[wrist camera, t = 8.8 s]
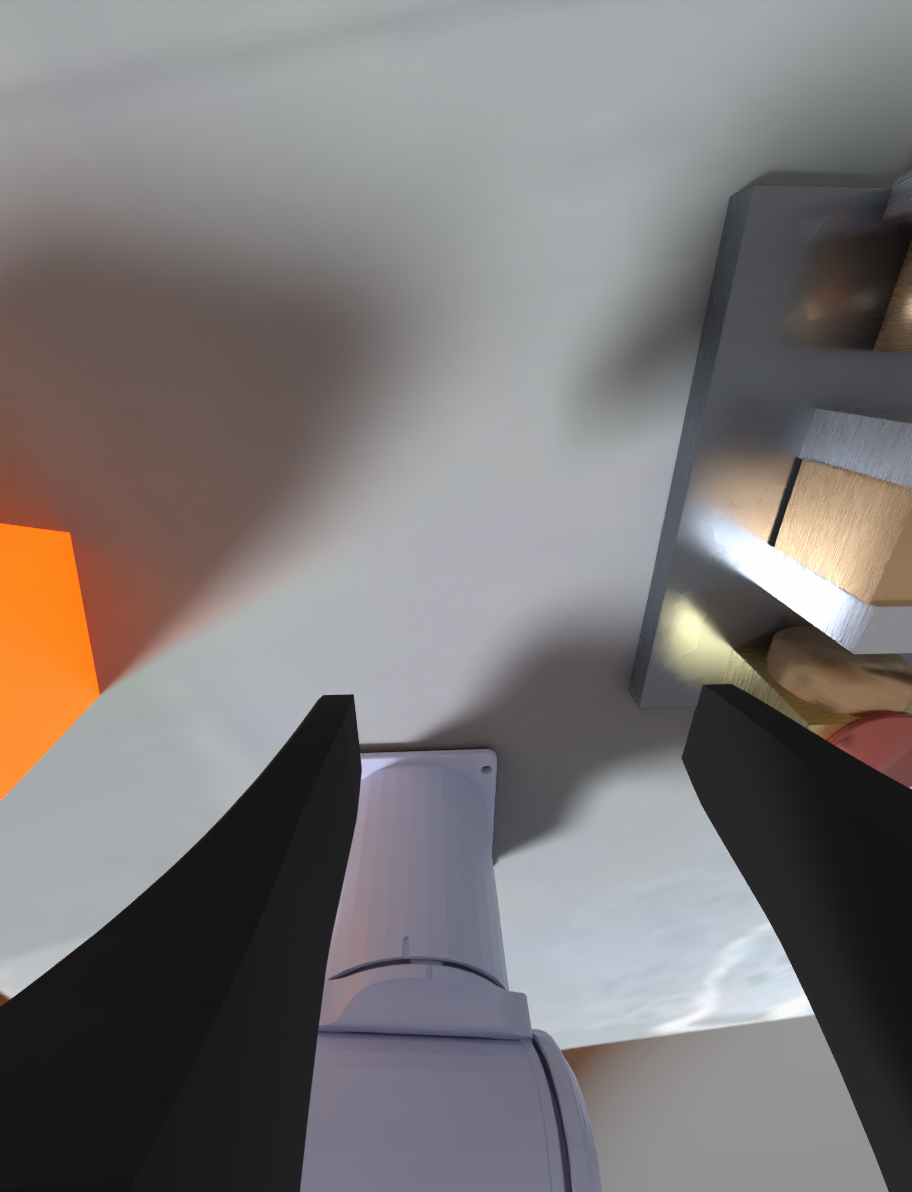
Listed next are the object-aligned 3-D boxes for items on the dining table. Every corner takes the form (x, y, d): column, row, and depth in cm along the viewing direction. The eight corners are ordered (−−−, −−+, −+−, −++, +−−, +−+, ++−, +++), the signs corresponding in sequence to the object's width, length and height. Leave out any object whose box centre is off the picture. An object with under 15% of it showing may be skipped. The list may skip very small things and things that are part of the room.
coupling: (876, 583, 19) (1004, 651, 15) (758, 584, 19) (853, 654, 15) (953, 409, 16) (1139, 432, 12) (815, 408, 16) (954, 431, 12)
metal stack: (875, 692, 23) (1019, 804, 18) (627, 699, 23) (693, 817, 17) (1114, 204, 15) (1534, 118, 9) (729, 197, 14) (927, 100, 9)
